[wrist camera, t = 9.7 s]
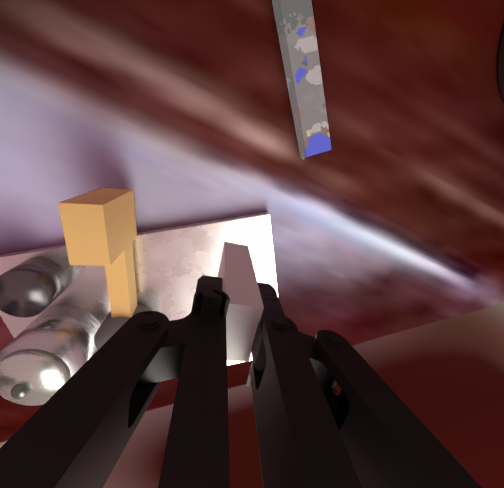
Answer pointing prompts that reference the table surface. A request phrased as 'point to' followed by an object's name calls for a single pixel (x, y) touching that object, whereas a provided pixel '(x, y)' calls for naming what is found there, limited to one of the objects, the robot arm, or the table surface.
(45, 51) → the table surface
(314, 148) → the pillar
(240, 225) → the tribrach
